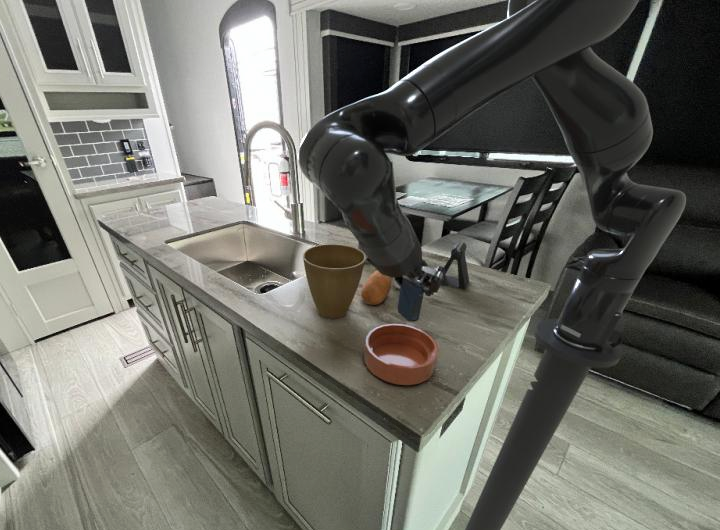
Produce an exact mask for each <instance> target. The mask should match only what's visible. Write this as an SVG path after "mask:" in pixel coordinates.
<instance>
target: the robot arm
mask: <svg viewBox="0 0 720 530" xmlns="http://www.w3.org/2000/svg"><path fill="white" fill-rule="evenodd" d="M639 1H640V0H508V4H507V10H506V18H505V19H503V20H502V21H499V22H498V23H496V24H494V25H491V26H490V27H488V28H487V29H484V30H482V31H481V32H478V33H476V34H475V35H473V36H470V37H469V38H467V39H464V40H463V41H460V42H459V43H457V44H455V45H453V46H451V47H449V48H447V49H445V50H443V51H442V52H440V53H439V54H436V55H435V56H433V57H432V58H430V59H429V60H427V61H425V62H424V63H423V64H421V65H420V66H418V67H417V68H416V69H414V70H412V71H411V72H410V73H408V74H407V75H406V76H404V77H403V78H401V79H400V80H399V81H397V82H396V83H395V84H393V85H391V86H390V87H389V88H388V89H387V90H384V91H383V92H380V93H378V94H374V95H370V96H368V97H365V98H363V99H360V100H358V101H356V102H353V103H351V104H348V105H345V106H343V107H341V108H339V109H337V110H334V111H332V112H330V113H329V114H326V115H325V116H323V117H322V118H320V119H319V120H318V121H316V123H314V125H312V126H311V128H310V129H309V130H308V131H307V132H306V134H305V136H304V137H303V138H302V140H301V143H300V146H299V149H298V154H297V159H298V160H297V161H298V165H299V169H300V171H301V173H302V174H303V176H304V177H305V178H306V179H307V180H308V181H309V182H310V183H311V184H312V185H313V186H314V187H316V189H318V190H319V191H320V192H321V194H322V195H324V196H325V197H326V198H327V199H328V200H330V201H331V202H332V204H333V205H334V206H335V208H337V209H338V210H339V211H340V213H342V218H343V221H344V223H345V226H346V227H347V229H348V230H349V231H350V232H351V234H352V235H353V236H354V238H355V239H356V240H357V243H358V242H359V243H360V246H361V248H362V249H363V251H364V252H365V254H366V255H367V258H366V260H367V261H368V262H369V263H368V264H370V265H371V266H372V267H373V268H375V270H376V271H377V270H378V271H379V272H380V273H381V274H382V275H386V276H389V277H390V278H391V279H392V280H394V282H395V281H396V282H397V284H398V285H399V286H401V285H402V279H403V278H405V279H408V280H409V281H410V282H411V283H412V284H414V285H417V286H420V287H421V288H422V290H423V291H424V296H426V297H431V296H433V295H434V294H435V293H438V292H439V290H440V288H441V286H442V285H441V284H442V282H443V280H444V275H445V268H444V266H439V265H438V266H437V267H434V268H432V267H429V265H428V263H427V262H426V260H424V259H423V248H422V245H421V243H420V241H419V238H418V236H417V234H416V232H415V230H414V228H413V225H412V224H411V222H410V220H409V218H408V217H407V215H406V213H404V211H403V209H402V207H401V205H400V203H399V200H398V199H397V190H396V180H395V171H394V167H393V164H392V162H391V160H390V158H389V156H388V155H387V154H391V155H395V156H401V157H409V156H412V155H415V154H416V153H418V152H420V151H421V150H423V149H424V148H426V147H427V146H429V145H430V144H431V143H432V142H434V141H436V140H437V139H439V138H440V137H441V136H443V135H444V134H445V133H447V132H448V131H450V130H451V129H452V128H454V127H455V126H457V125H458V124H459V123H460V122H462V121H463V120H465V119H467V117H470V115H472V114H473V113H475V112H476V111H478V110H480V109H481V108H483V107H484V106H486V105H487V104H489V103H490V102H492V101H493V100H495V99H496V98H498V97H500V96H501V95H503V94H504V93H506V92H508V91H510V90H511V89H513V88H515V87H516V86H519V85H520V84H522V83H523V82H525V81H527V80H529V79H530V78H532V80H533V82H534V83H535V84H536V86H537V88H538V90H539V91H540V93H541V94H542V96H543V97H544V99H545V101H546V103H547V105H548V107H549V110H550V112H551V113H552V115H553V117H554V120H555V121H556V123H557V125H558V127H559V129H560V131H561V134H562V137H563V139H564V143H565V145H566V148H567V149H568V152H569V154H570V156H571V158H572V160H573V163H574V164H575V166H576V168H577V170H578V173H579V175H580V178H581V180H582V183H583V186H584V188H585V191H586V194H587V199H588V203H589V207H590V212H591V216H592V219H593V223H594V224H595V226H596V227H597V228H598V229H599V230H601V231H603V232H606V233H608V234H612V235H616V236H619V237H622V238H626V239H629V240H628V242H627V243H626V245H625V246H624V247H621V248H597V249H593V250H591V251H589V252H588V253H587V255H586V257H585V258H584V261H583V264H582V266H581V268H580V270H579V273H578V275H577V277H576V279H575V281H574V284H573V286H572V288H571V290H570V293H569V295H568V297H567V299H566V301H565V304H564V306H563V309H562V311H561V313H560V315H559V317H558V318H557V319H558V322H557V323H556V326H555V327H554V329H553V334H554V336H555V337H556V338H557V339H558V340H560V341H561V342H563V343H565V344H566V345H569V346H571V347H573V348H576V349H580V350H585V351H595V352H598V353H601V352H602V350H603V348H604V347H605V345H606V343H607V341H609V342H612V344H610V345H611V346H612V347H613V348H614V347H616V346H618V345H620V346H621V345H622V343H623V342H624V341H625V335H624V332H623V330H624V324H625V321H622V320H621V318H622V315H623V311H624V309H625V308H626V306H627V304H628V302H629V300H630V299H631V298H632V296H633V293H634V291H635V289H636V288H637V286H638V284H639V282H640V281H641V279H642V277H643V275H644V274H645V272H646V270H647V269H648V267H649V266H650V265H651V264H652V262H653V261H654V259H655V258H656V256H657V254H658V253H659V251H660V250H661V248H662V246H663V245H664V243H665V241H666V240H667V239H668V238H669V236H670V234H671V233H672V231H673V229H674V228H675V226H676V225H677V223H678V221H679V220H680V218H681V216H682V214H683V212H684V211H685V207H686V204H687V196H686V194H685V193H684V192H683V191H681V190H678V189H673V188H667V187H662V186H654V185H649V184H648V185H647V184H642V183H637V182H634V181H632V180H631V179H630V177H629V175H628V172H629V171H630V170H631V169H632V168H633V167H634V166H635V165H636V164H637V163H638V162H639V161H640V160H641V159H642V157H644V155H645V154H646V152H647V151H648V149H649V147H650V145H651V143H652V140H653V135H654V128H653V127H654V126H653V122H652V118H651V117H652V116H651V112H650V108H649V104H648V101H647V97H646V96H645V94H644V93H643V91H642V90H641V88H639V87H638V85H636V84H635V82H633V81H632V80H631V79H629V78H628V77H627V76H625V75H624V74H623V73H621V72H620V71H618V70H617V69H615V68H614V67H612V66H611V65H610V64H608V63H607V62H606V61H604V60H603V59H602V58H600V57H599V56H598V55H597V54H596V53H595V52H594V51H593V49H592V48H591V47H593V46H595V45H597V44H599V43H601V42H603V41H605V40H606V39H607V38H609V37H610V36H612V35H613V34H614V33H615V32H617V31H618V29H619V28H621V27H622V26H623V24H624V23H625V22H626V21H627V20H628V19H629V17H630V16H631V14H632V13H633V12H634V10H635V9H636V6H637V5H638V3H639ZM415 278H416V279H415ZM425 278H426V280H425ZM424 280H425V282H424Z"/></svg>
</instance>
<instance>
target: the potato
mask: <svg viewBox="0 0 720 530" xmlns="http://www.w3.org/2000/svg"><path fill="white" fill-rule="evenodd" d="M392 281H393V279H391V278H390V277H389V276H386V275H382V274H381V273H380V272H379V271H378V270H377V269H376V270H374V271H373V272H372V273H371V274H370V275H369V277H368V278H367V279H366V281H365V282H364V283H363V285H362V288H361V293H360V295H361V299H362V301H363V302H364V303H365V304H368V305H373V306H375V305H380V304H381V303H382V302H384V301H385V300H386V298H387V296H388V295H389V294H390V292H391V290H392Z"/></svg>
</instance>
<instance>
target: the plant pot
mask: <svg viewBox="0 0 720 530" xmlns="http://www.w3.org/2000/svg"><path fill="white" fill-rule="evenodd" d="M302 259H303V266H304V271H305V276H306V281H307V284H308V288H309V291H310V294H311V297H312V300H313V303H314V305H315V307H316V310H317V312H318V314H319V315H320V316H321V317H323V318H324V319H329V320H336V319H341V318H343V317H345V316H346V314H347V312H348V311H349V309H350V306H351V305H352V302H353V300H354V298H355V295H356V293H357V290H358V288H359V285H360V282H361V278H362V275H363V271H364V267H365V264H366V263H365V259H366V256H365V254H364V253H363V252H362V251H361V250H359V249H358V247H355V246H351V245H348V244H347V245H346V244H338V243H337V244H336V243H326V244H324V243H323V244H319V245H315V246H311V247H309V248H308V249H306V250H305V251H304V252H303V253H302Z"/></svg>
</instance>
